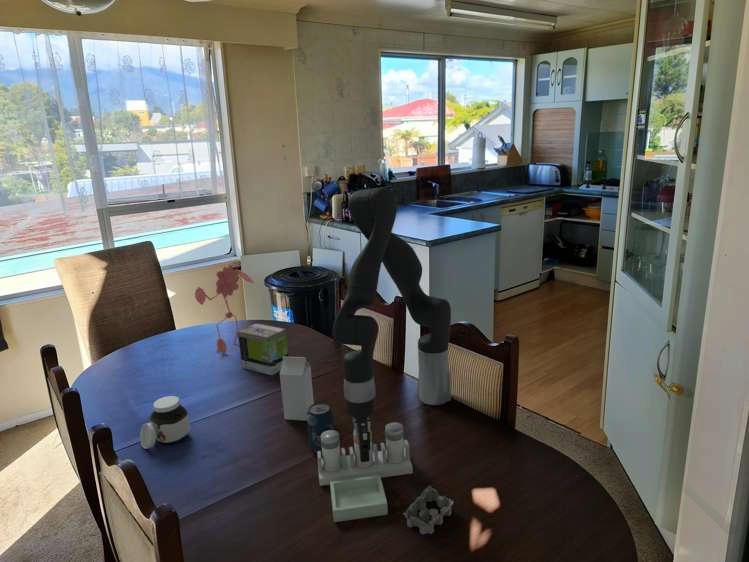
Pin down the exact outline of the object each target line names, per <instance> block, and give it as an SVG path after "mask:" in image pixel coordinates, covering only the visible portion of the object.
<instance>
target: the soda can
mask: <svg viewBox="0 0 749 562" xmlns="http://www.w3.org/2000/svg"><path fill="white" fill-rule="evenodd" d="M306 423H307V433H308V445H309V447H310V449H311V450H312V451H313V453H316V454H317V451H321V455H322V446H321V434H322V433H323V432H325V431H328V430H334V431H335V425H334V415H333V410H332V409H331V407H330V404H328V403H325V402H317V403H314V404H313V405H311V406H310V407H309V409H308V413H307V421H306Z"/></svg>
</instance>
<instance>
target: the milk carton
mask: <svg viewBox="0 0 749 562" xmlns="http://www.w3.org/2000/svg"><path fill="white" fill-rule="evenodd" d="M279 379H280V390H281V397H282V398H281V399H282V407H283V416H284V420H290V421H292V420H293V421H306V422H307V413H308V409H309V407H310V406H311V405H313V404H315V401H314V391H313V380H312V370H311V364H310V363H309V362H308V361H307V358H306V357H305V356H300V357H299V356H288V357H283V362H282V366H281V370H280V371H279Z"/></svg>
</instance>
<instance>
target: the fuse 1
mask: <svg viewBox="0 0 749 562" xmlns="http://www.w3.org/2000/svg"><path fill="white" fill-rule="evenodd" d="M340 441H341V440H340V433H339V432H338V431H336V430H335V429H334V430H328V431H325V432H323V433H322V434H321V446H322V454H321V456H322V459H323V468H324V470H325V471H326V472H329V473H333V472H337V471H339V470H340V469H341V456H342V455H341V447H340V446H341V443H340Z"/></svg>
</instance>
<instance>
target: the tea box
mask: <svg viewBox="0 0 749 562" xmlns="http://www.w3.org/2000/svg"><path fill="white" fill-rule="evenodd" d="M238 337H239V338H238ZM238 337H237V338H238V345H239V351H240V357H241V358H240V359H241V366H242V367H241V368H243V369H246V370H250V371H253V372H257V373H261V374H264V375H265V374H266V375H269V376H274V375H275V374H278V373H280V370H281V366H282V362H283V357H289V350H288V341H287V339H288V337H287V330H286V328H283V327H278V326H272V325H268V324H263V323H258V322H257V323H254V324H251V325H249V326H247V327H245V328H243V329H240V330H238Z"/></svg>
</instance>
